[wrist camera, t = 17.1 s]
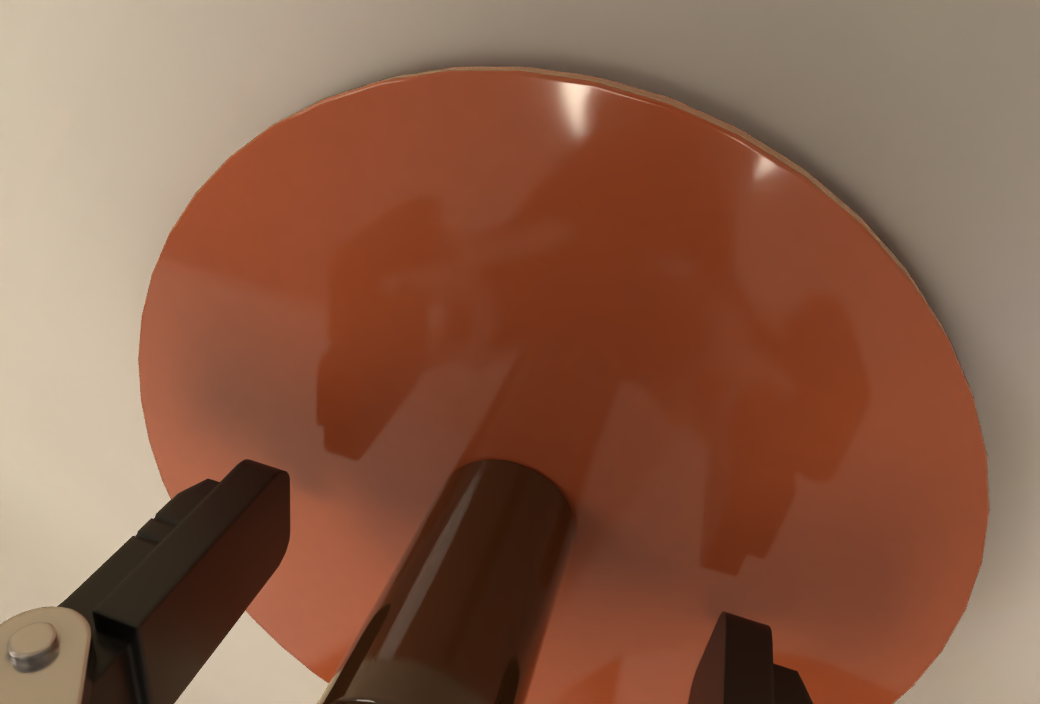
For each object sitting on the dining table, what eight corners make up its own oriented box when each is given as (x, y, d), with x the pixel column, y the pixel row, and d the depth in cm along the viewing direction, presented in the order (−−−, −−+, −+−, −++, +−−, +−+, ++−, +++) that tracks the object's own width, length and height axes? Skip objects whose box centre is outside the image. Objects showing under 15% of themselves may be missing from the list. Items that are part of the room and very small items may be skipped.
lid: (80, 440, 18) (-198, 645, 12) (440, -203, 10) (76, -378, 4) (562, 814, 19) (494, 1126, 14) (1197, 537, 11) (1564, 1022, 6)
